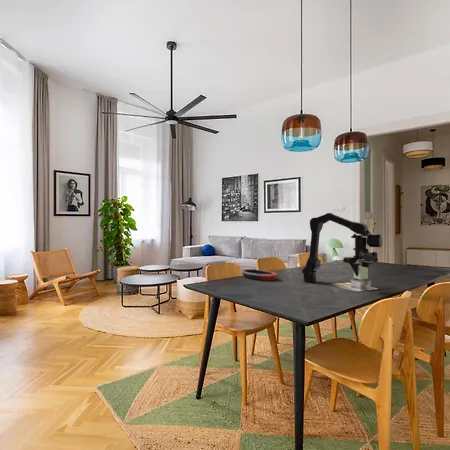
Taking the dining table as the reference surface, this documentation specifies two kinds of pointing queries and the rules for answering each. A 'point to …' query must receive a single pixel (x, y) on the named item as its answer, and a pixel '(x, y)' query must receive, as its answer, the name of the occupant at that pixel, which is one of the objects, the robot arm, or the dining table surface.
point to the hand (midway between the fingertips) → (360, 275)
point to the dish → (259, 274)
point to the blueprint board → (344, 285)
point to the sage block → (362, 273)
